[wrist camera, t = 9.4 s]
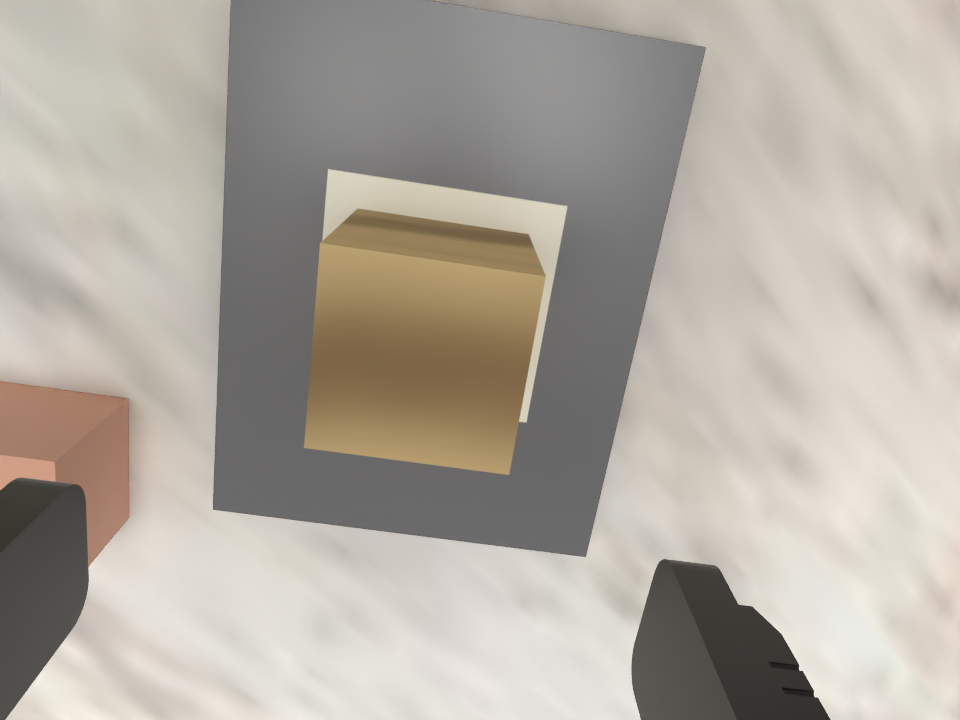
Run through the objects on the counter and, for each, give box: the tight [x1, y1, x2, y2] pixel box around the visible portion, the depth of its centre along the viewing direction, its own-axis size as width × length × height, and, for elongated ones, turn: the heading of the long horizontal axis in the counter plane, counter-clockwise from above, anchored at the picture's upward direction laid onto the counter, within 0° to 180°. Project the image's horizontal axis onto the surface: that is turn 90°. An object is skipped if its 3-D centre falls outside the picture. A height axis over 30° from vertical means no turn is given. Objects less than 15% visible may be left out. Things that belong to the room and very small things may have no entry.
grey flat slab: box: [213, 0, 706, 557], centre depth 25 cm, size 18×14×1 cm
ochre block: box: [304, 209, 546, 475], centre depth 21 cm, size 6×6×6 cm
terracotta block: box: [0, 381, 129, 566], centre depth 25 cm, size 5×5×5 cm
